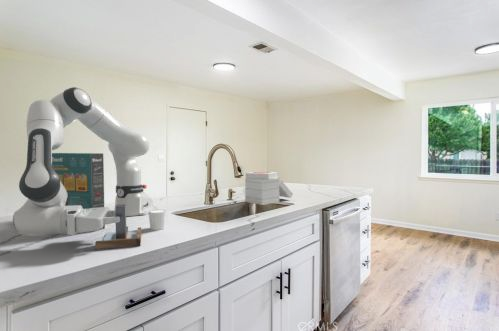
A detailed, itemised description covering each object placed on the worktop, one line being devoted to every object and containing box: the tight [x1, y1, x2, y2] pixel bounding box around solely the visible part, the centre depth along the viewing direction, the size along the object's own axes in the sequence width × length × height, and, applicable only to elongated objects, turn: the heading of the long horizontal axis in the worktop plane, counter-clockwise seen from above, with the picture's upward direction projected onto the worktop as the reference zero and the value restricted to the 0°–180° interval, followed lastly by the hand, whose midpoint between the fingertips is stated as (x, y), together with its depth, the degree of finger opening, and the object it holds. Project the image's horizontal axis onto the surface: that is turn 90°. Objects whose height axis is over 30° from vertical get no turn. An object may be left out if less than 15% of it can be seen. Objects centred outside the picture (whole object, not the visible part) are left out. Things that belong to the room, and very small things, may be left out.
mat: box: [98, 229, 143, 251], centre depth 104 cm, size 19×12×1 cm, turn 19°
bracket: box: [114, 204, 129, 239], centre depth 105 cm, size 13×3×12 cm, turn 19°
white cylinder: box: [148, 209, 167, 231], centre depth 119 cm, size 7×7×7 cm
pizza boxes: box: [244, 171, 294, 206], centre depth 186 cm, size 19×30×18 cm, turn 133°
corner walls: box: [94, 227, 142, 251], centre depth 102 cm, size 15×13×2 cm
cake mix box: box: [52, 152, 106, 233], centre depth 119 cm, size 22×6×30 cm, turn 72°
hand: (121, 216), depth 101 cm, fingers open, 8 cm apart
